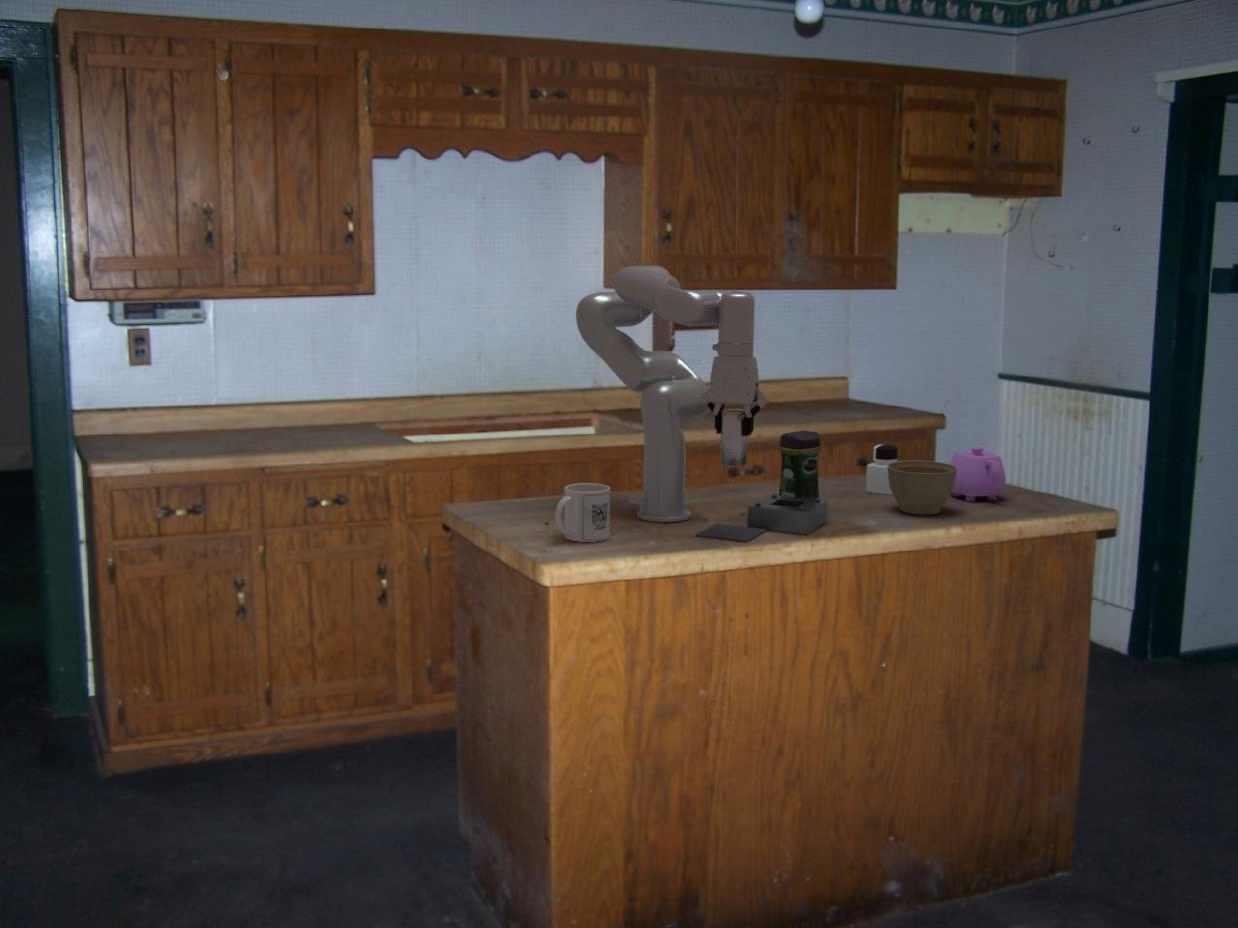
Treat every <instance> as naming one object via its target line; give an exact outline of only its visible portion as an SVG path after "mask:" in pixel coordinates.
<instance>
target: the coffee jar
mask: <svg viewBox="0 0 1238 928" xmlns="http://www.w3.org/2000/svg"><path fill="white" fill-rule="evenodd" d="M779 451H780V455H781V473H780V480H779V481H780V482H779V492H778V496H786V497H796V498H806V499H815V498H819V499H820V489H819V487H820V486H819V464H818V463H819V455H820V451H821V438H820V435H819V433H818V432H816V431H810V430H800V431H792V432H785V433H782V434H781V436H780V441H779Z"/></svg>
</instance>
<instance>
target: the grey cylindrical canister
mask: <svg viewBox="0 0 1238 928" xmlns="http://www.w3.org/2000/svg"><path fill="white" fill-rule="evenodd" d="M745 417H746V413H745V410H744V408H724V409H723V410H721V433H720V464H721V465H724V466H744V465H745V466H746V465H747V462H748V461H747V459H748V455H747V454H748V451H747V450H748V444H747V443H748V436H744V435H743V432H744V418H745Z"/></svg>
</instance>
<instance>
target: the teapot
mask: <svg viewBox="0 0 1238 928" xmlns="http://www.w3.org/2000/svg"><path fill="white" fill-rule="evenodd" d="M950 459H951V460H950V462H949V464H950V465H953V466H955V467H957V473H956V479H955V484H954V487H953V490H952V492H953V493H952V494H951V496H952V497H963V496H965V498H964V501H965V502H976V497H986V499H987V500H988V499H989V500H988V501H998V500H997V499H998V498H997V496H1001V495H1003V493H1004V491H1005V490H1006V473H1005V469H1004V468H1005V467H1004V465H1003V464H1004V463H1003V461H1002V458H1001V456H999V455H997V454H993V453H991V452H988V451H984V448H983V447H980V446H974V447H971V451H969V450H968V451H953V455H952V457H951V458H950Z"/></svg>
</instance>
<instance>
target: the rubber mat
mask: <svg viewBox="0 0 1238 928" xmlns="http://www.w3.org/2000/svg"><path fill="white" fill-rule="evenodd" d="M765 531H766V532H768V530H767V529H759V528H751V527H747V526H741V525H732V524H724V523H715V524H713V525H712V526H708V527H707V528H706V529H703V530H701V531H700V532H697V533H696V534H695V537H697V538H698V537H699V538H707V539H715V540H723V541H732V542H737V543H738V542H739V543H749V542H751V541H752V540H755V539H756V538H758V537H759V536H761V535H762V533H763V534H764V533H766V532H765Z"/></svg>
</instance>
